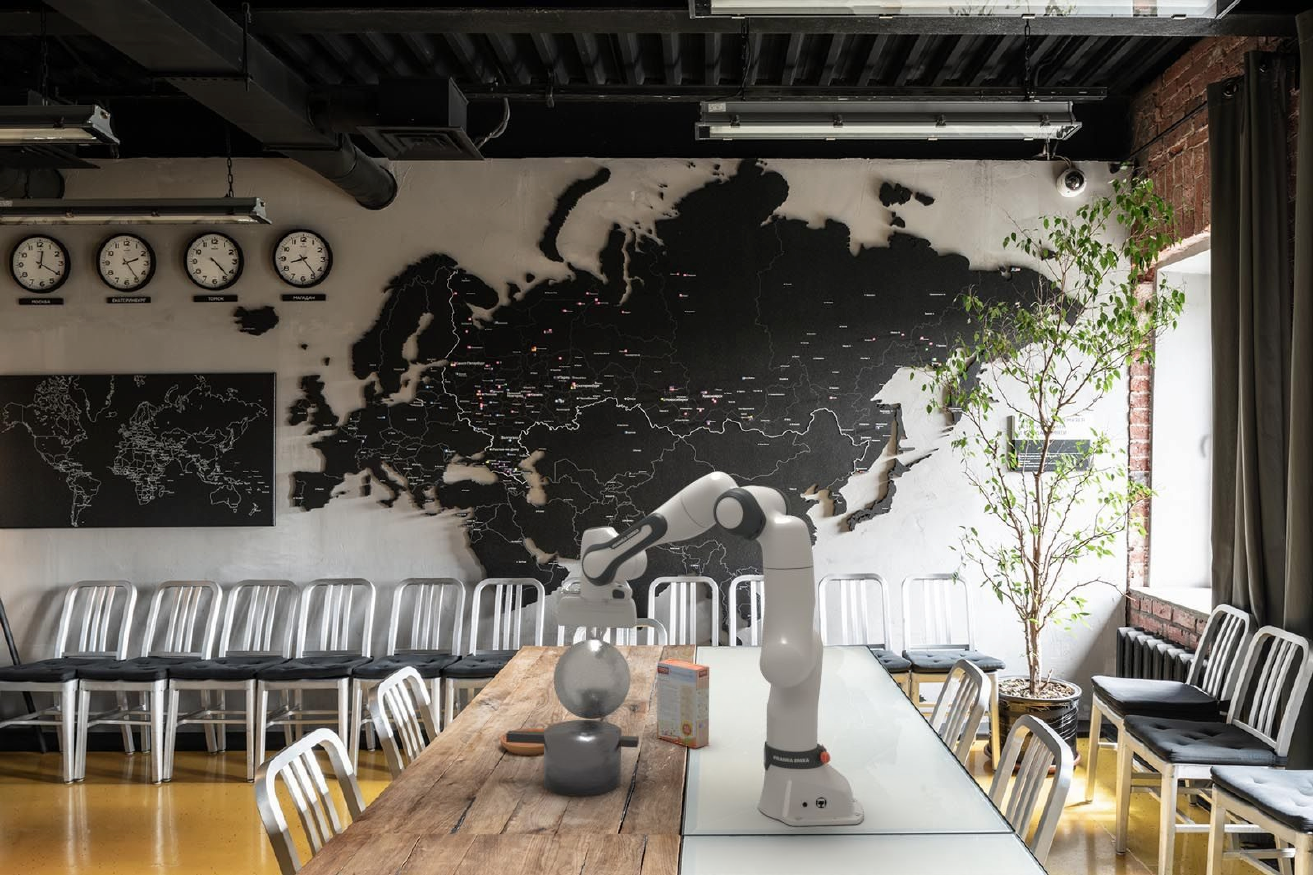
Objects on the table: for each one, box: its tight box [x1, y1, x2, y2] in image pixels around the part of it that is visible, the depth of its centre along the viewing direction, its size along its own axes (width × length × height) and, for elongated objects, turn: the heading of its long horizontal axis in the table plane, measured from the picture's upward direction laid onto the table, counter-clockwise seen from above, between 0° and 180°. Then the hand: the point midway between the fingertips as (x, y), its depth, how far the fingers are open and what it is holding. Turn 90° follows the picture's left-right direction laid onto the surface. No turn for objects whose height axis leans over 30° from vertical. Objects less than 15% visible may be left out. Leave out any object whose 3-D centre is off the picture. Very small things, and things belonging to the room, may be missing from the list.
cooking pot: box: [506, 719, 640, 798], centre depth 218 cm, size 31×18×12 cm, turn 84°
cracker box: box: [656, 658, 710, 750], centre depth 250 cm, size 14×6×21 cm, turn 47°
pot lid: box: [553, 639, 631, 720], centre depth 231 cm, size 19×19×3 cm
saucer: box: [499, 727, 546, 756], centre depth 244 cm, size 16×16×3 cm
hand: (596, 644), depth 236 cm, fingers closed
